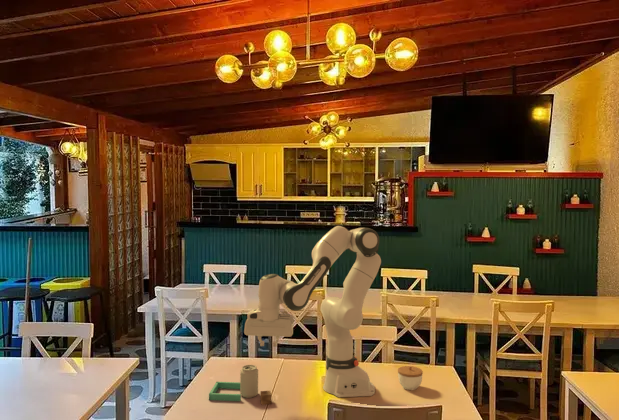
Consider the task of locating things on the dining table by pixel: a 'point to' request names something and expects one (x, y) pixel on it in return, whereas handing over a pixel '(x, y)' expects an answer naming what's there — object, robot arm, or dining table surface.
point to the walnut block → (265, 397)
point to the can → (249, 381)
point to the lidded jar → (410, 377)
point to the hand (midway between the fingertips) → (268, 346)
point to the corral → (225, 397)
